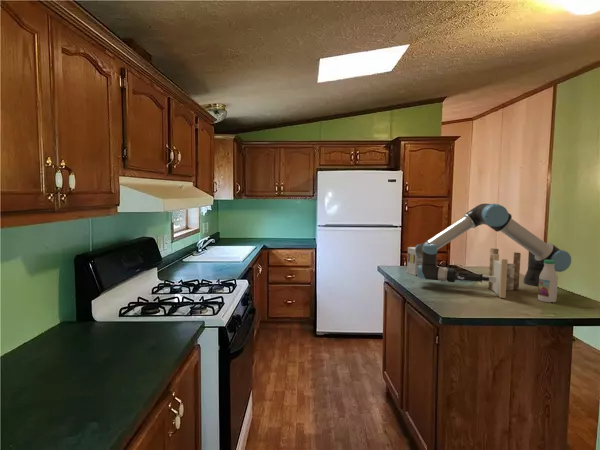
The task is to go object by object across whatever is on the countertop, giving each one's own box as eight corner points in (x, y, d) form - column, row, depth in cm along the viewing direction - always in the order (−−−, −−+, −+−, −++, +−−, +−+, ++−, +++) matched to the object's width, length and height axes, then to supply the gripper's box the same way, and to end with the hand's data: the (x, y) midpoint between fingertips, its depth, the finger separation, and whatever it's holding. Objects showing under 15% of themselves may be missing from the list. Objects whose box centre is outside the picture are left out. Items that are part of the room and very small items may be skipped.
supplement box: (406, 272, 260) (407, 247, 258) (418, 272, 263) (419, 246, 261) (415, 275, 250) (416, 249, 249) (427, 275, 253) (428, 248, 252)
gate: (491, 289, 214) (493, 254, 213) (500, 289, 213) (502, 254, 212) (500, 297, 197) (502, 259, 195) (510, 298, 196) (512, 259, 194)
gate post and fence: (516, 288, 219) (518, 248, 218) (520, 290, 215) (522, 249, 214) (487, 288, 219) (489, 248, 217) (490, 290, 215) (492, 249, 213)
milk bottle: (551, 299, 198) (553, 259, 196) (559, 303, 190) (562, 261, 189) (534, 298, 199) (537, 258, 197) (542, 302, 191) (545, 261, 189)
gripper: (449, 279, 221) (496, 284, 209) (445, 283, 209) (495, 289, 198) (449, 265, 220) (497, 270, 208) (445, 269, 209) (496, 274, 197)
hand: (496, 279), depth 203 cm, fingers closed
